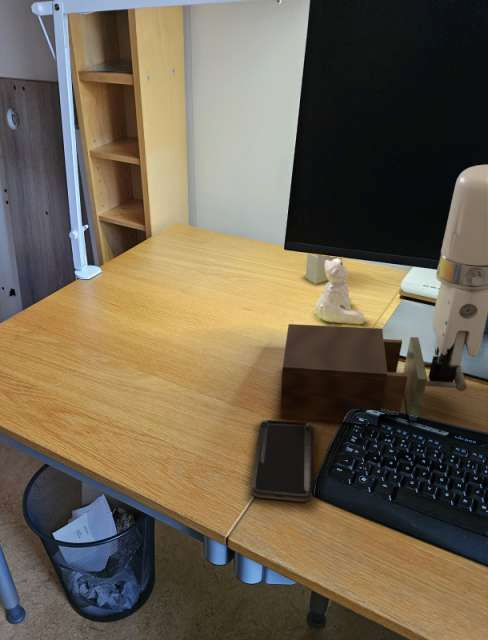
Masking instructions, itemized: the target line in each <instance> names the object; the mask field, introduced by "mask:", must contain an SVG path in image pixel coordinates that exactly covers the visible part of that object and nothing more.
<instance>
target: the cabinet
mask: <svg viewBox="0 0 488 640" xmlns="http://www.w3.org/2000/svg"><path fill="white" fill-rule="evenodd" d="M383 330H384V329H383V328H376V327H357V326H337V325H319V324H317V325H316V324H315V325H314V324H298V323H297V324H296V323H288V325H287V331H286V332H287V333H286V340H285V346H284V351H283V359H282V367H281V386H280V408H279V419H287V420H298V421H299V420H300V421H313V422H324V423H325V422H326V423H336V424H343V423H342V422H343V420H344V417H345V416H346V414H347V413H348V412H349V411H350V410H352V409H362V410H381V407H382V401H383V396H384V390H385V385H386V380H387V374H388V373H387V365H386V356H385V347H384V339H385V338H384V331H383Z"/></svg>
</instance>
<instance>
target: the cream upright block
mask: <svg viewBox="0 0 488 640" xmlns="http://www.w3.org/2000/svg"><path fill="white" fill-rule="evenodd" d="M333 259H337V257H330V256H322V255H313V254H307V253H306V265H305V266H306V268H305V279H307V280H308V281H310V282H312V283H313V284H315V285H317V284H320V283H324V282H328V281H329V280H328V278H327V277H326V272H325V267H324V265H325V261H326V260H329V261H332V260H333ZM339 259H341V260H342V261H343V257H342V258H339Z"/></svg>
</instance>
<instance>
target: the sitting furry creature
mask: <svg viewBox="0 0 488 640" xmlns="http://www.w3.org/2000/svg"><path fill="white" fill-rule="evenodd" d="M324 267H325V272H326V277H327V278H328V280H327V283H326V284H325V286H324V287H323V291H322V292H321V295H320V297H319V298H318V300H317V301H316V303H315V305H314V307H315V308H314V311H315V314H316V315H317V317H318V318H319V319H322V320H323V321H325V322H327V323H337V324H348V325H363V324H364V322H365V313H363V312H361V311H359V310H358V309H352V308H351V303H352V298H351V297H350V296H349V294H350V291H349V289H348V283H347V281H346V280H347V279H349V274H348V270H347V269H348V267H347V265H345V264H344V262H343V259H342V260H341V259H339V258H337V259H333V260H332V261H329V260H326V261H325V265H324Z"/></svg>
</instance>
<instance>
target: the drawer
mask: <svg viewBox="0 0 488 640" xmlns="http://www.w3.org/2000/svg"><path fill="white" fill-rule="evenodd" d="M419 338H420V337H419V336H410V338H409V343H408V348H407V351H406V357H405V363H404V366H403V372H398V371H397V370H398V366H399V361H400V356H401V351H402V345H403V340H402V339H394V338H393V339H391V338H383V339H384V347H385V356H386V365H387V373H388V374H387V380H386V385H385V390H384V396H383V401H382V407H381V408H382V409H386V410H390V411H395V412H400V413H401V411H402V410H401V409H402V405H403V401H404V398H405V406H406V413H407V415H408V414H409V415H413V416H417V417H418V418H419V417H420V411H421V407H422V403H423V399H424V395H425V391H426V387H434V388H446V389H447V388H449V389H455V390H456V391H458V392H464V391H466V390H467V389H468V385H467V382H466V379H465V376H464V372H463V369H462V365H461V364H460V367H457V370H456V374H455V377H454V381H453V382H438V381H430V380H428V377H427V372H426V368H427V369H428V368H429V369H430V368H431V364H432V362H429V361H424V358H423V352H422V347H421V343H420V339H419Z"/></svg>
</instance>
